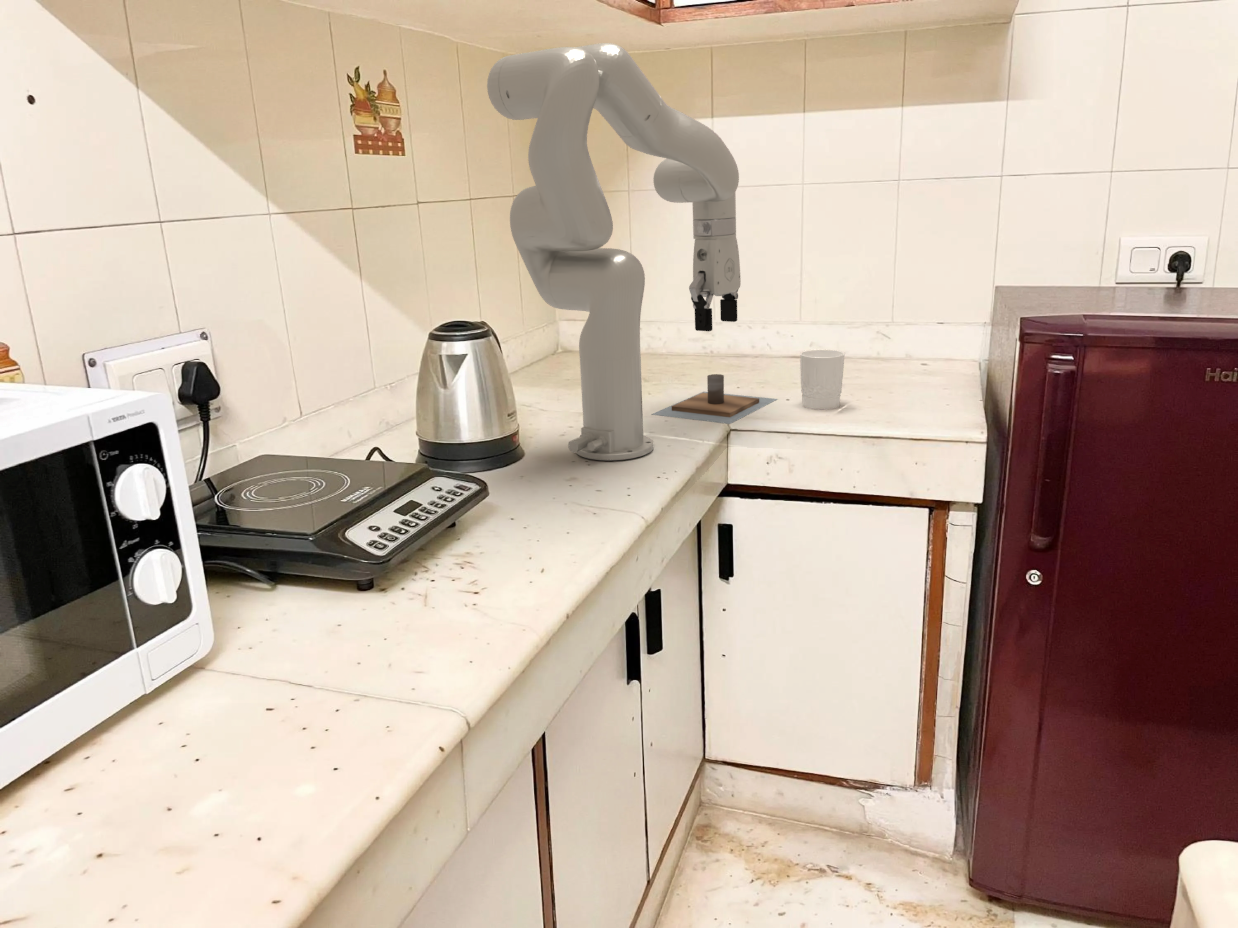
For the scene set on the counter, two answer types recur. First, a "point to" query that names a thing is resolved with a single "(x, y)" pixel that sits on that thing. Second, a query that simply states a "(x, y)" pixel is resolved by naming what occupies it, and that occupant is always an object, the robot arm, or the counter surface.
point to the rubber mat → (713, 418)
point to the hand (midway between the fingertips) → (716, 325)
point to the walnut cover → (715, 400)
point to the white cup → (821, 378)
